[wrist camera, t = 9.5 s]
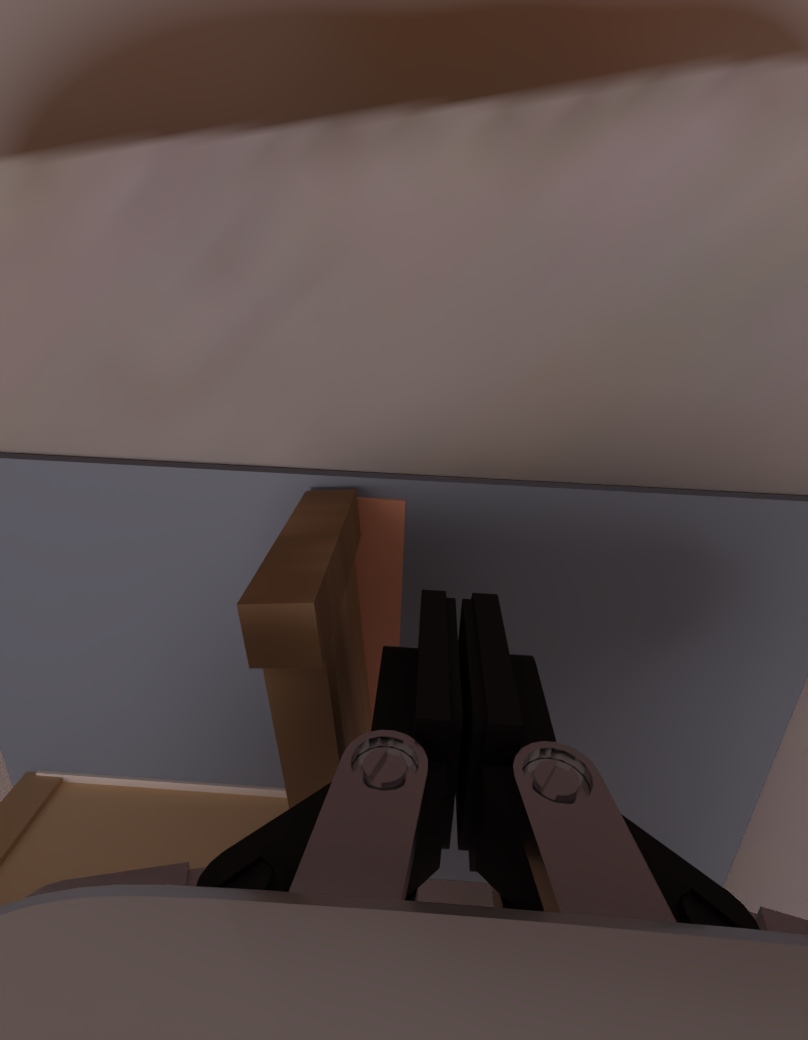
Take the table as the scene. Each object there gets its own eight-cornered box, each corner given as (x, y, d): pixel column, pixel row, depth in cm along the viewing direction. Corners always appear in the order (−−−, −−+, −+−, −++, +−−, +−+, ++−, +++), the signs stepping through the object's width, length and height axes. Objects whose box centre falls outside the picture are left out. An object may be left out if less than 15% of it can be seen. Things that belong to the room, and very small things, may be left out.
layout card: (711, 888, 19) (818, 1123, 14) (40, 838, 20) (-104, 1042, 14) (863, 498, 13) (1141, 641, 8) (-82, 448, 14) (-390, 549, 9)
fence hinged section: (356, 489, 13) (313, 602, 8) (386, 795, 17) (367, 986, 12) (305, 490, 13) (236, 605, 9) (346, 794, 17) (313, 986, 12)
